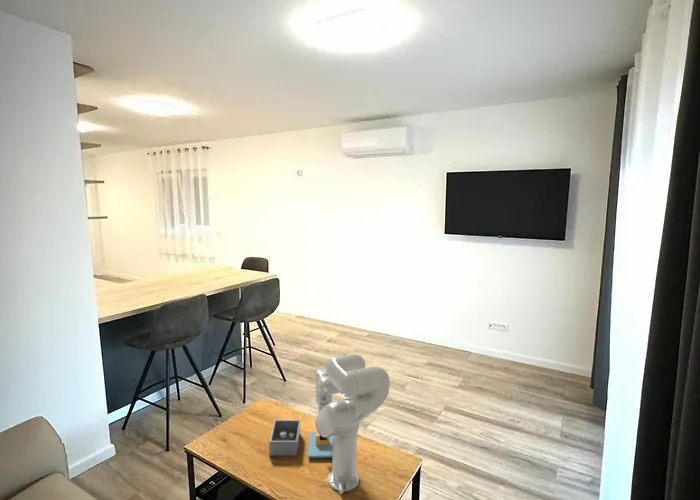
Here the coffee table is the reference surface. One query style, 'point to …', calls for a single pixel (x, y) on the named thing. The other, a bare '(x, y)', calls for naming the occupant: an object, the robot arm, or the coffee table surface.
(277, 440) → the parts tub
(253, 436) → the coffee table surface
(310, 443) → the tub lid
